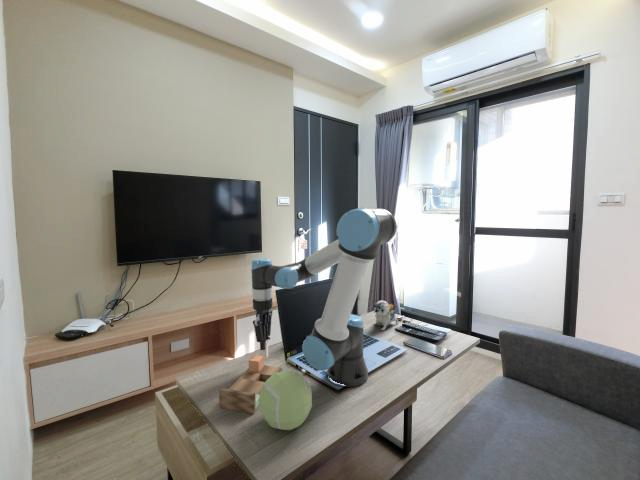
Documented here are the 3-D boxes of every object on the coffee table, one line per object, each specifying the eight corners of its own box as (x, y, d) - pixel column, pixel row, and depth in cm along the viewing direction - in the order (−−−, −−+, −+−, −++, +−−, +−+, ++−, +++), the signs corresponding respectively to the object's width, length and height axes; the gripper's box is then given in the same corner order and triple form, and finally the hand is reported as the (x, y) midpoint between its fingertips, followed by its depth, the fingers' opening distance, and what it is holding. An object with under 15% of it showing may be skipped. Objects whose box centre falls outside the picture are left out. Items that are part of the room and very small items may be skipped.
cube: (263, 366, 116) (263, 356, 116) (258, 372, 112) (258, 361, 112) (254, 365, 117) (253, 355, 117) (249, 370, 113) (248, 360, 113)
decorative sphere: (274, 451, 79) (272, 396, 78) (252, 418, 92) (250, 371, 90) (322, 427, 88) (321, 378, 86) (296, 400, 100) (295, 356, 98)
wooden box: (282, 375, 115) (281, 359, 115) (254, 413, 94) (253, 395, 93) (253, 371, 118) (252, 356, 118) (219, 407, 97) (219, 389, 96)
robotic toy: (365, 328, 159) (365, 300, 157) (383, 319, 171) (384, 293, 170) (386, 335, 150) (386, 305, 148) (404, 325, 162) (404, 297, 161)
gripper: (261, 293, 126) (262, 347, 128) (245, 302, 113) (247, 363, 116) (278, 294, 124) (279, 349, 126) (264, 304, 111) (266, 365, 114)
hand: (264, 356), depth 121 cm, fingers closed
